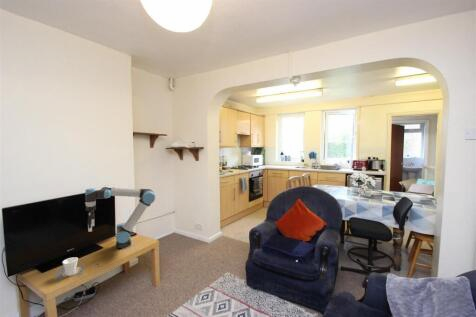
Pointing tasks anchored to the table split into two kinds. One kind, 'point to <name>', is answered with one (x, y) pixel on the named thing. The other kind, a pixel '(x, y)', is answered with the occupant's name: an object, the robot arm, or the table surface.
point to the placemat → (70, 276)
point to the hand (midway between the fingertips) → (91, 228)
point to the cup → (70, 265)
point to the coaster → (73, 274)
